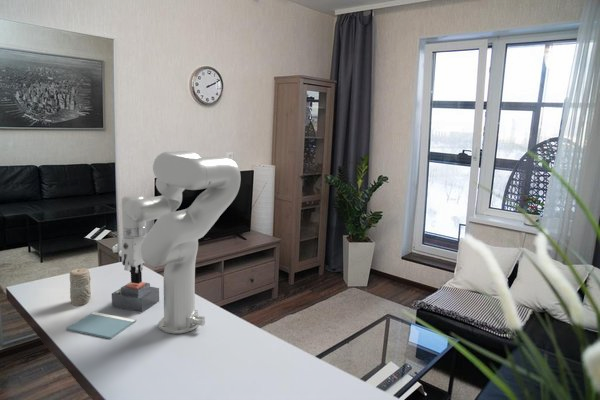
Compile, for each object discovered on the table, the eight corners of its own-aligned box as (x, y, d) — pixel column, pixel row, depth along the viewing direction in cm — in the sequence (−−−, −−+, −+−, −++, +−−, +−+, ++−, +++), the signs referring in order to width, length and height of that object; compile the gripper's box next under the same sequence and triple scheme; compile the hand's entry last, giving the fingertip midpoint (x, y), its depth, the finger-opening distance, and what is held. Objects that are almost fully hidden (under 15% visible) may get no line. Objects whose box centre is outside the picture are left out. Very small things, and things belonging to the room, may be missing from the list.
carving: (67, 307, 147) (65, 274, 144) (74, 298, 154) (72, 266, 152) (87, 307, 148) (86, 274, 146) (93, 298, 155) (92, 266, 153)
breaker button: (145, 288, 153) (145, 282, 152) (137, 292, 148) (137, 287, 148) (134, 286, 154) (134, 280, 153) (125, 290, 149) (125, 285, 149)
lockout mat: (136, 321, 140) (136, 319, 139) (110, 339, 128) (110, 336, 128) (94, 313, 144) (94, 311, 143) (66, 329, 132) (66, 327, 132)
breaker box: (159, 301, 155) (159, 282, 154) (142, 312, 146) (141, 293, 144) (130, 296, 158) (130, 278, 157) (112, 307, 149) (111, 288, 147)
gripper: (129, 237, 139) (132, 291, 142) (157, 227, 153) (158, 276, 156) (110, 235, 141) (112, 288, 144) (138, 225, 155) (140, 274, 158)
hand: (136, 282), depth 150 cm, fingers closed
